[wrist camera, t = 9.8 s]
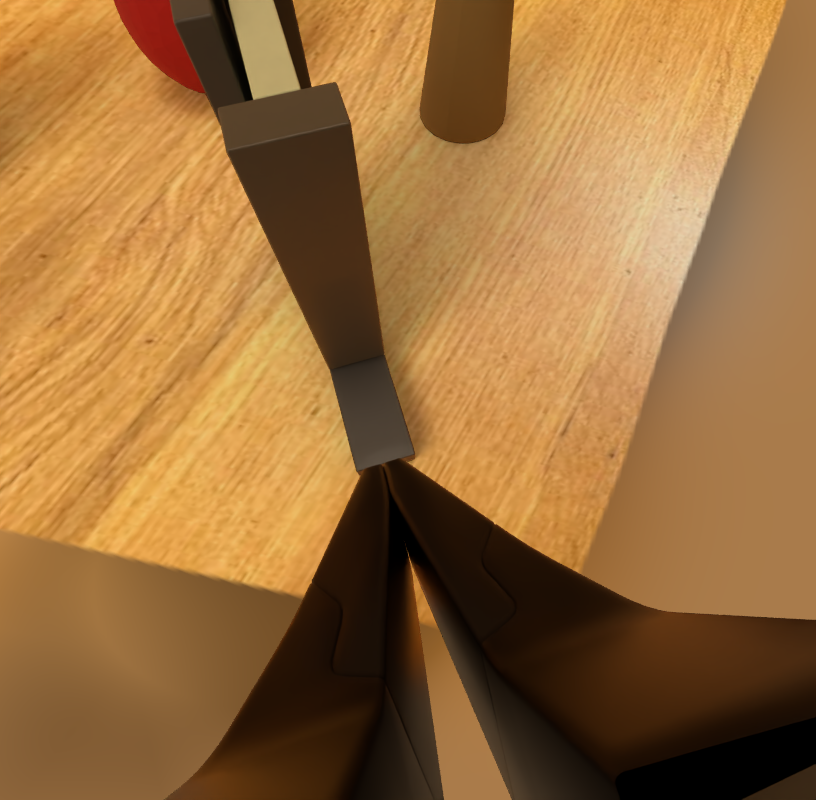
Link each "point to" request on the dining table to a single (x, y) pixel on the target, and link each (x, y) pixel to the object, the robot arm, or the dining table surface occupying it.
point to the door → (304, 187)
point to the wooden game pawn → (467, 69)
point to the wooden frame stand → (224, 85)
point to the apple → (159, 38)
